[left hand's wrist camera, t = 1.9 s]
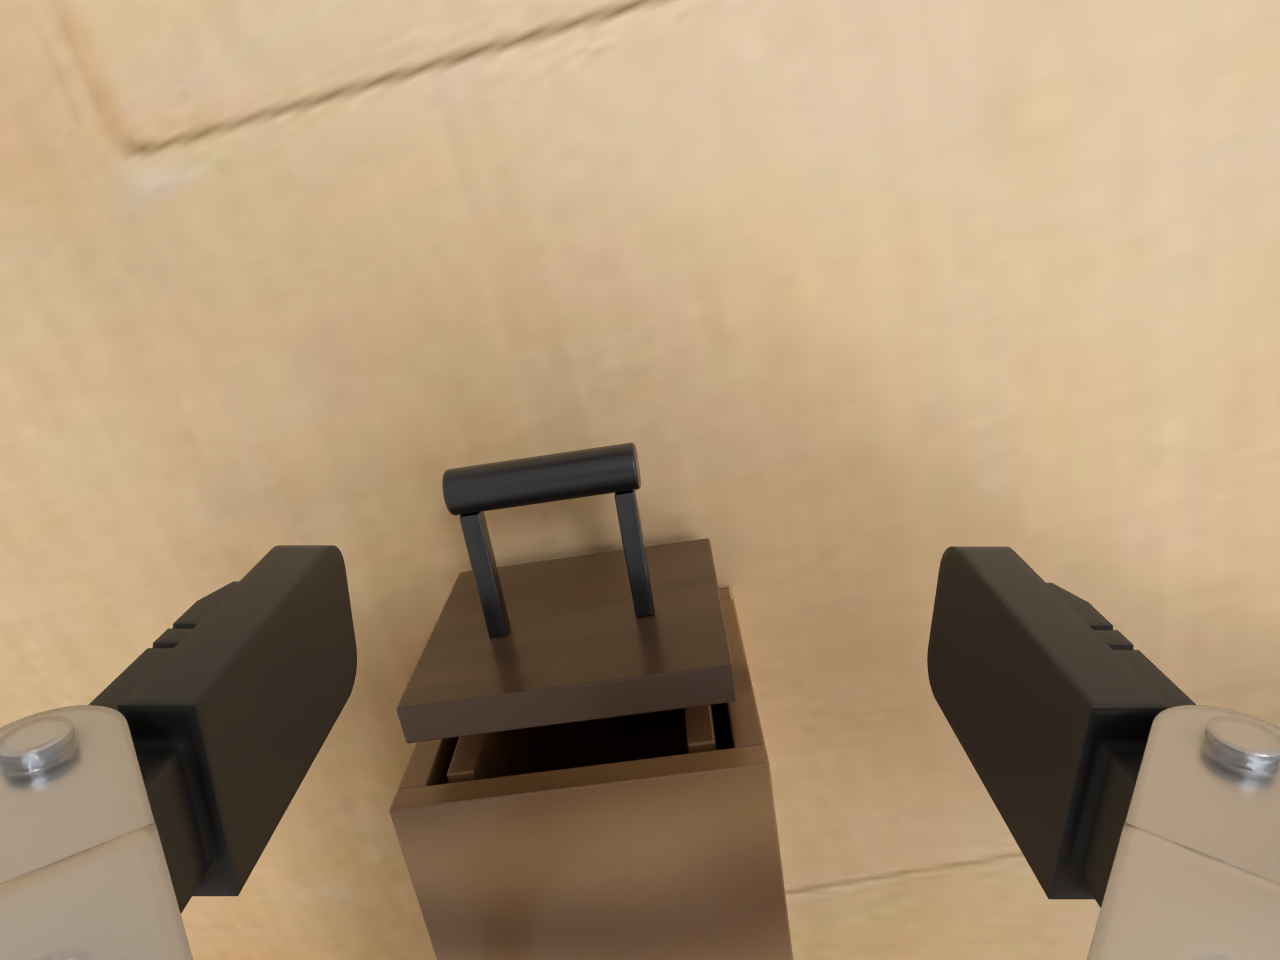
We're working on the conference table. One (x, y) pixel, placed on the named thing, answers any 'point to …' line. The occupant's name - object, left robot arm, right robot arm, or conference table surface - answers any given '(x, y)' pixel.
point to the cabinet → (604, 851)
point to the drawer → (570, 635)
